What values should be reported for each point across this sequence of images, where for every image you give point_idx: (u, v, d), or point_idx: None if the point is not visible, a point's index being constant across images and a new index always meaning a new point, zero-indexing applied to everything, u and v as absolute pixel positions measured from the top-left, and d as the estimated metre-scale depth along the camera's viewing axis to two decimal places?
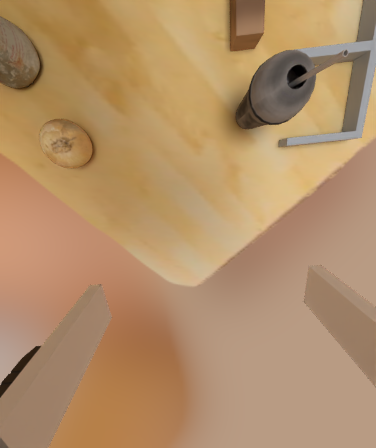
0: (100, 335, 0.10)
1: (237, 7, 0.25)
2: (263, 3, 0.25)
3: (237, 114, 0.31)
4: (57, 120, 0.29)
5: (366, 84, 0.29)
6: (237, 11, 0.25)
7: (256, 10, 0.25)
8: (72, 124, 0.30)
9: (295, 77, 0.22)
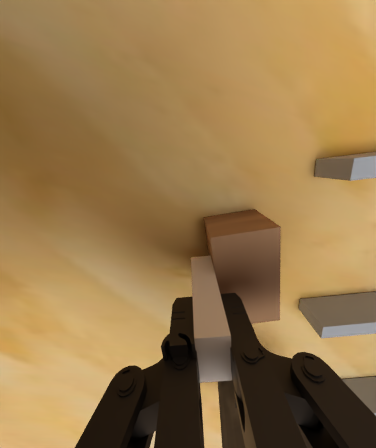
0: None
1: (220, 291, 0.12)
2: (276, 282, 0.11)
3: (218, 384, 0.18)
4: None
5: None
6: None
7: (261, 293, 0.12)
8: None
9: None
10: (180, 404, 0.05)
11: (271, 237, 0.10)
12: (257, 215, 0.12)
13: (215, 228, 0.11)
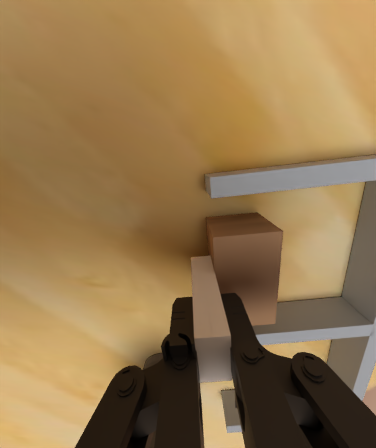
0: None
1: None
2: (275, 286, 0.11)
3: None
4: None
5: (362, 372, 0.16)
6: None
7: (259, 296, 0.12)
8: None
9: None
10: (180, 404, 0.05)
11: (273, 240, 0.10)
12: (259, 218, 0.12)
13: (217, 228, 0.11)
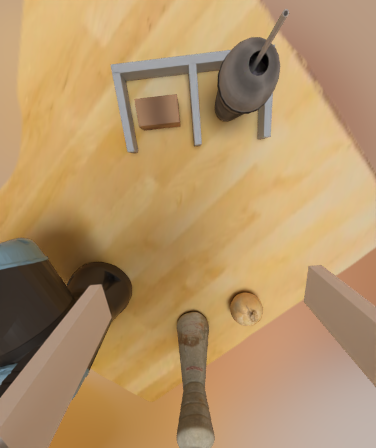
0: (100, 335, 0.10)
1: (161, 122, 0.30)
2: (157, 97, 0.29)
3: None
4: (234, 313, 0.43)
5: (223, 58, 0.28)
6: (163, 122, 0.30)
7: (162, 104, 0.29)
8: (235, 304, 0.43)
9: None
10: None
11: (138, 102, 0.29)
12: None
13: None
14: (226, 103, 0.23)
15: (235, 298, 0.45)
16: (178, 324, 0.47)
